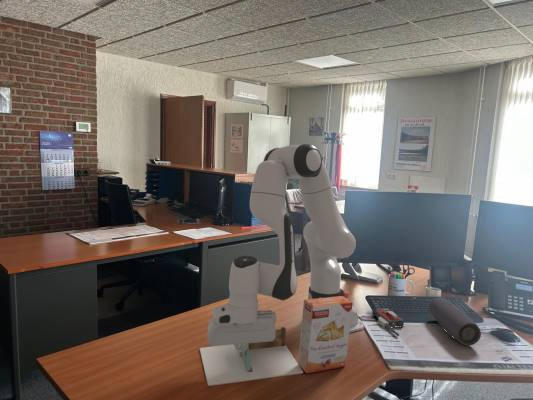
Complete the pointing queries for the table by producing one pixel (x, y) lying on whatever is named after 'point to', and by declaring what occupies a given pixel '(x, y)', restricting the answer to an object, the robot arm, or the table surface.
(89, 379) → the table surface
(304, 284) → the table surface
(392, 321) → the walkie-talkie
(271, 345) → the fence
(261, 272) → the robot arm
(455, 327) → the bluetooth speaker
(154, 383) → the table surface
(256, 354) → the card
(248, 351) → the gate panel
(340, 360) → the cracker box
